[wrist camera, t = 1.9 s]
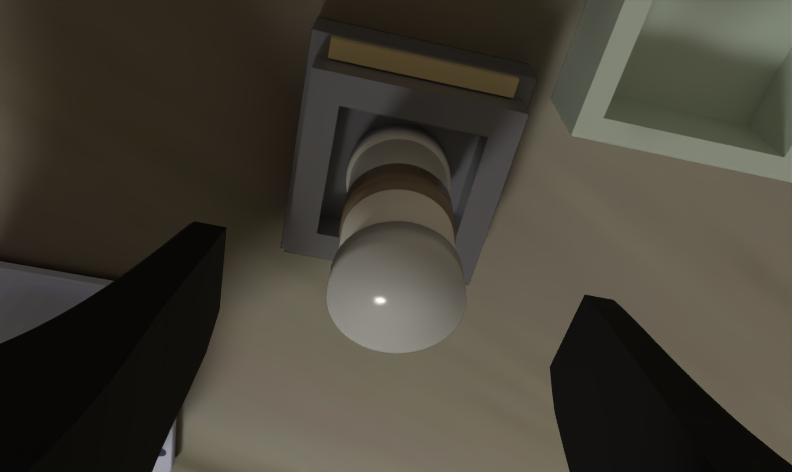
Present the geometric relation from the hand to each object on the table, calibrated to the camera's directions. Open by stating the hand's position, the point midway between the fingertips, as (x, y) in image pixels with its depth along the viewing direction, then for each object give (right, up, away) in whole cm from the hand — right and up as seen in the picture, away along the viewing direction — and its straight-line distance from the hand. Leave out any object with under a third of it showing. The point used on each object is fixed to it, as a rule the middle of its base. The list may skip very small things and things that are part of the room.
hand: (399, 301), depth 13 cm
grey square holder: (0, +4, +6) cm, 7 cm away
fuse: (0, +3, +5) cm, 6 cm away
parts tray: (+8, +7, +4) cm, 11 cm away
